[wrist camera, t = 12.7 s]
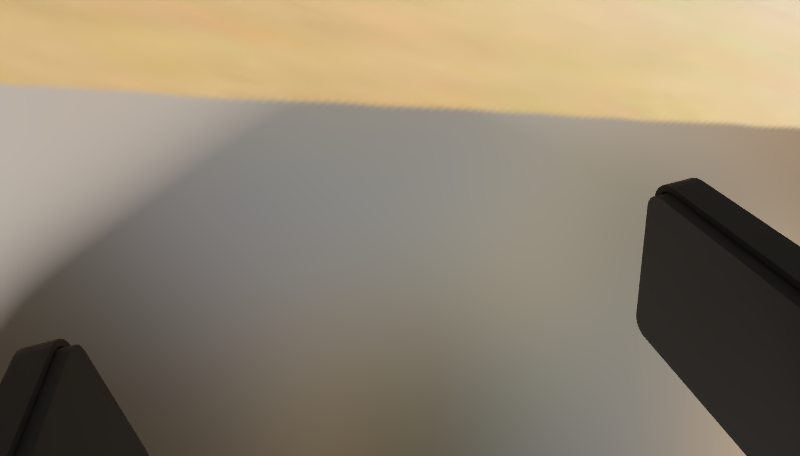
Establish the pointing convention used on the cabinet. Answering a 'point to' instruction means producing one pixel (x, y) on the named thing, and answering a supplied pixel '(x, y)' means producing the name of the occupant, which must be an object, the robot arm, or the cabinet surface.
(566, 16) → the cabinet surface
